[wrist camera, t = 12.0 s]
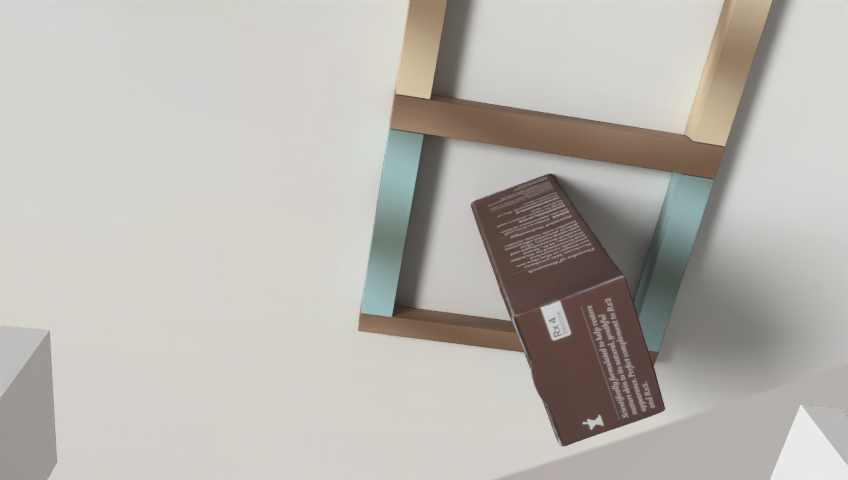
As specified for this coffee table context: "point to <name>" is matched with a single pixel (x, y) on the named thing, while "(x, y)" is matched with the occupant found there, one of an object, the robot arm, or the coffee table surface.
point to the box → (568, 311)
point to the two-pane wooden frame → (555, 134)
